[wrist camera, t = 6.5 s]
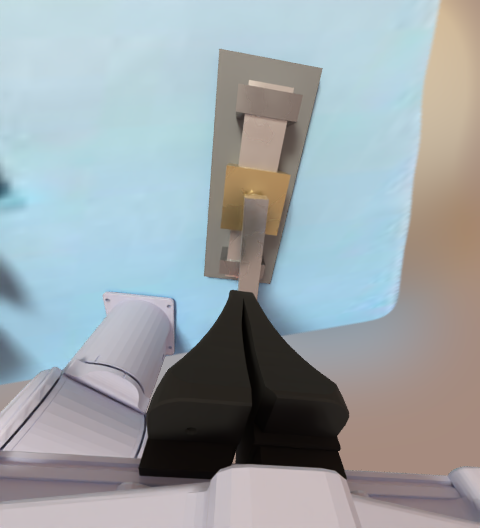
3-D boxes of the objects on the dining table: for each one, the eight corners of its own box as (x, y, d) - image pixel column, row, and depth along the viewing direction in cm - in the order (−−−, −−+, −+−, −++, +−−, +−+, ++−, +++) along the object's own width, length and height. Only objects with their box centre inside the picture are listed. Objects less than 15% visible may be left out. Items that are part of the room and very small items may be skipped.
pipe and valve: (260, 265, 22) (264, 286, 19) (218, 260, 22) (215, 281, 18) (294, 101, 16) (311, 85, 12) (236, 90, 15) (235, 71, 12)
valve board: (268, 278, 24) (270, 283, 23) (205, 271, 23) (203, 276, 22) (317, 73, 15) (322, 68, 15) (220, 54, 15) (219, 48, 14)
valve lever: (240, 192, 15) (240, 198, 13) (268, 194, 15) (273, 200, 13) (233, 318, 20) (232, 336, 18) (253, 319, 20) (255, 337, 18)
